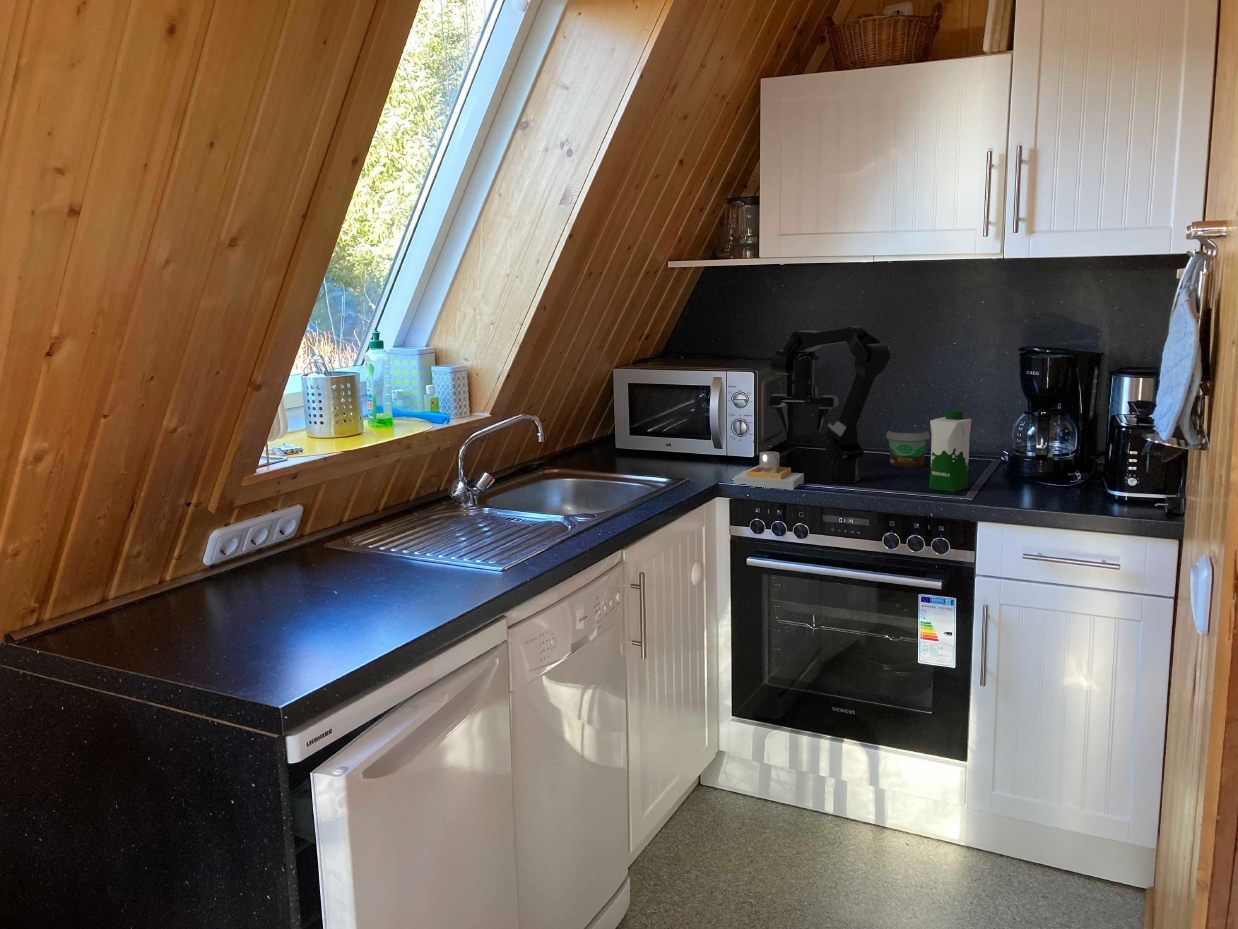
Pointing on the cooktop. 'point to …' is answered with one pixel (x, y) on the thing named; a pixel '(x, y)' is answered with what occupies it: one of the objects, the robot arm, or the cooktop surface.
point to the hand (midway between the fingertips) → (802, 431)
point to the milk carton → (950, 452)
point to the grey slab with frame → (770, 478)
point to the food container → (907, 448)
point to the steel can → (769, 462)
